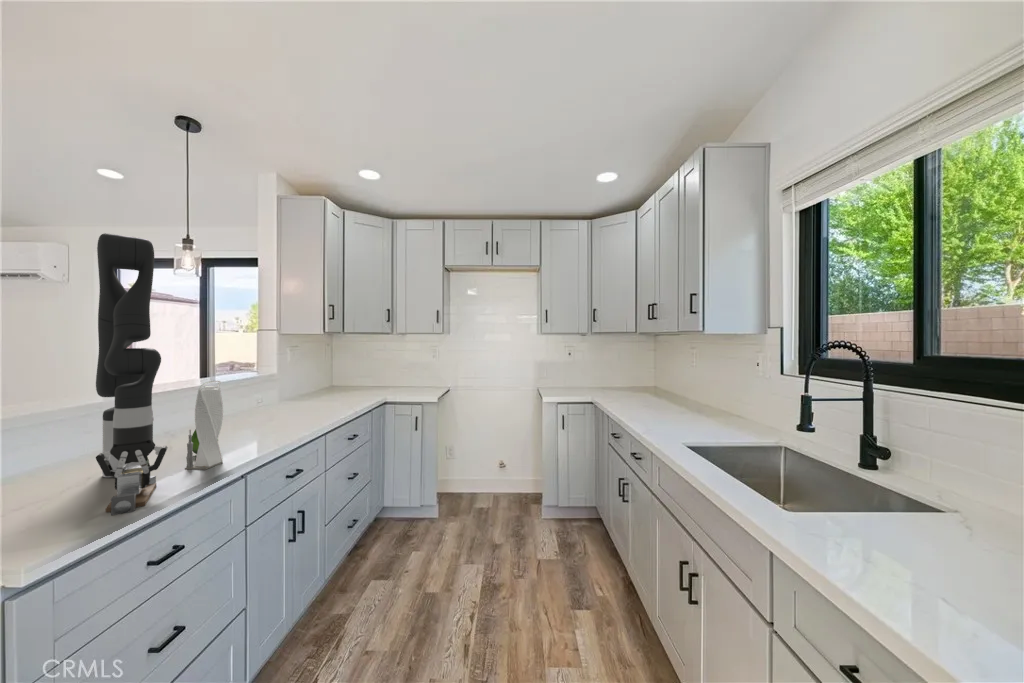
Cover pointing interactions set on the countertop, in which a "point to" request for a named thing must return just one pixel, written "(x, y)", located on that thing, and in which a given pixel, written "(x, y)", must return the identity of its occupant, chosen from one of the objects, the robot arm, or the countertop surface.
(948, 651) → the countertop surface
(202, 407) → the skyscraper
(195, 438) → the avocado
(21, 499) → the countertop surface
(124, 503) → the coupling stand
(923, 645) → the countertop surface
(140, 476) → the gray and yellow block
